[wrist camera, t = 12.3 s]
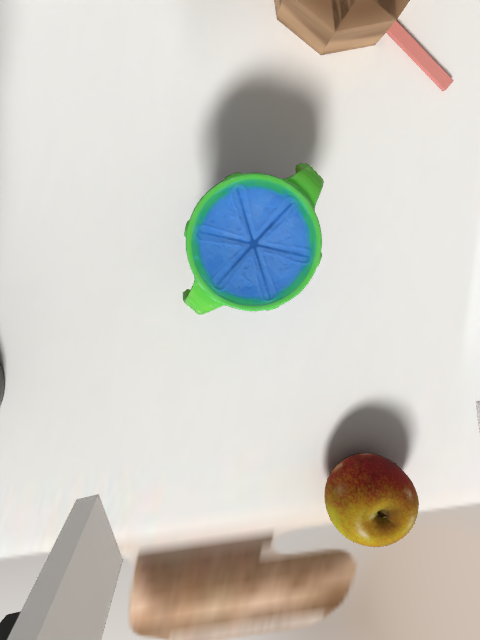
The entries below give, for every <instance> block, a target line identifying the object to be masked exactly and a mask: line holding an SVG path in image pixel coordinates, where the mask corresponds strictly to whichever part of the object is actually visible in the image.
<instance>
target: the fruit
mask: <svg viewBox="0 0 480 640" xmlns="http://www.w3.org/2000/svg"><path fill="white" fill-rule="evenodd" d="M325 504H326V509H327V512H328V514H329V517H330V519H331V521H332V523H333V524H334V526H335V527H336V528H337V529H338V530H339V532H340V533H342V534H343V535H344V536H345V537H346V538H348V539H349V540H351V541H353V542H356V543H358V544H361V545H364V546H370V547H381V546H387V545H390V544H393V543H395V542H397V541H398V540H400V539H402V538H403V537H404V536H405V535H406V534H407V533H408V532H409V531H410V530H411V528H412V527H413V525H414V523H415V520H416V517H417V514H418V505H419V501H418V496H417V493H416V490H415V487H414V485H413V483H412V481H411V480H410V479H409V477H408V476H407V475H406V474H405V473H404V471H403V470H402V469H401V468H400V467H398V466H397V465H396V464H395V463H393V462H392V461H390V460H389V459H386V458H384V457H382V456H380V455H375V454H370V453H363V454H356V455H352V456H350V457H347V458H345V459H344V460H343V461H341V462H340V463H339V464H338V465H336V467H335V468H334V469H333V471H332V472H331V474H330V475H329V477H328V479H327V483H326V487H325Z"/></svg>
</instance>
